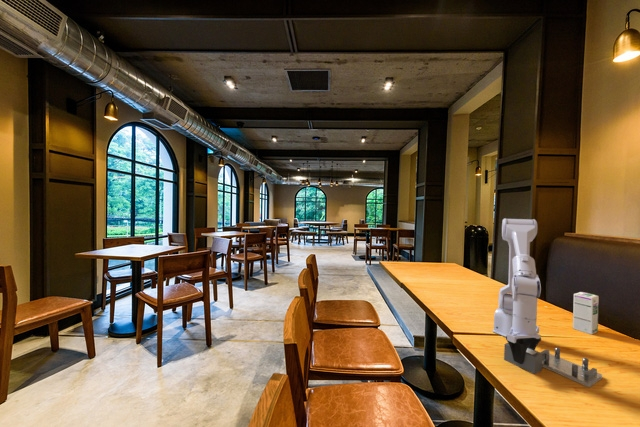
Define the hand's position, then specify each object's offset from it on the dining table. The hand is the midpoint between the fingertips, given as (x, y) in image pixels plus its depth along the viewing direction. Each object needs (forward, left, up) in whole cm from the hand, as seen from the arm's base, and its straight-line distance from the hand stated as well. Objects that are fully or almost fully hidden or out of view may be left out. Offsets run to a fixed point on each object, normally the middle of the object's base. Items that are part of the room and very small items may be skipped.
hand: (522, 360), depth 79 cm
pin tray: (+7, +9, -1) cm, 11 cm away
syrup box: (-1, +50, -2) cm, 50 cm away
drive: (0, 0, -1) cm, 1 cm away
